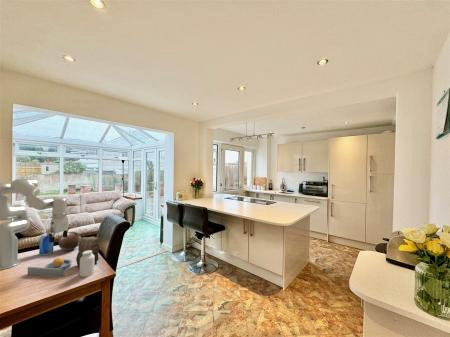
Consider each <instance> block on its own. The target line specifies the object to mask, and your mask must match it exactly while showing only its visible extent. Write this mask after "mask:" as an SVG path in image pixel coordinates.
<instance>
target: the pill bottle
mask: <svg viewBox="0 0 450 337" xmlns="http://www.w3.org/2000/svg"><path fill="white" fill-rule="evenodd" d="M82 255H83V256H82V257H81V258H80V270H79V276H80V278H81V277H82V278H86V277H90V276H92V275H93V274H94V273H95V266H94V260H95V256H94V255H93V254H92V251H91V250H88V251H84V252H83V253H82Z"/></svg>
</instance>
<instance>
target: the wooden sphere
mask: <svg viewBox="0 0 450 337" xmlns="http://www.w3.org/2000/svg"><path fill="white" fill-rule="evenodd" d="M81 237H82V236H81V235H80V234H79V233H78V232H75V231H70V232H69V231H68V233H67V237H63V235H61V237H59V240H58V247H59V248H60V249H61V250H63V251H72V250H74V249H76V248H78V245H79V243H80V241H81V239H80V238H81Z"/></svg>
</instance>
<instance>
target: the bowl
mask: <svg viewBox="0 0 450 337" xmlns="http://www.w3.org/2000/svg"><path fill="white" fill-rule="evenodd" d="M63 259H64V258H63ZM72 264H73V263H72V260H71V259H64V263H63V264H62V265H61V266H59V267H54V266H53V261H52V262H50V263H48V264H46V265H45V266H44V267H43V268H57V269H63V271H66V270H68V269H69V268H71V266H72Z"/></svg>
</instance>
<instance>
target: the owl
mask: <svg viewBox="0 0 450 337" xmlns="http://www.w3.org/2000/svg"><path fill="white" fill-rule="evenodd" d="M80 239H81V241H80V243H79V245H78V246H77V250H78V252H77V255H76V258H75V259H76V265H77V267H76V268H78V271H80V258H81V257H82V256H83V255H82V253H83V252H84V251H88V250H91V251H92V254H93V255H94V256H95V260H94V267H95V266H96V265H98V261H99V260H100V258H99V250H100V237H97V236H93V235H92V236H89V237H87V236H86V237H85V236H83V237H82V236H81V238H80Z"/></svg>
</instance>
